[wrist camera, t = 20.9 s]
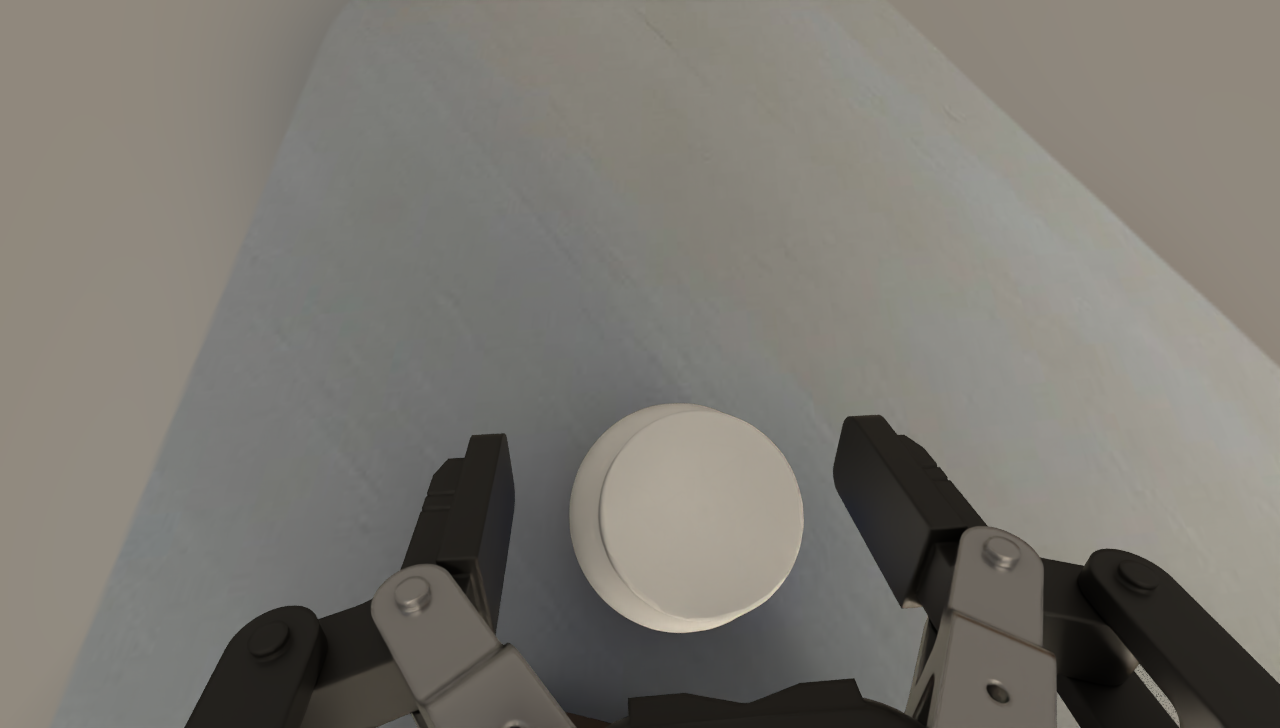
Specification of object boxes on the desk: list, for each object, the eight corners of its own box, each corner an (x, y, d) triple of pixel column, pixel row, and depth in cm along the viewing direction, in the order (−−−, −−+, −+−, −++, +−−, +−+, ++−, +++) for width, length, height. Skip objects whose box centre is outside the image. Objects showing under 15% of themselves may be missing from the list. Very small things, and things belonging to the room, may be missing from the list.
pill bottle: (636, 626, 19) (666, 741, 10) (549, 495, 20) (497, 482, 11) (760, 529, 20) (895, 546, 11) (671, 408, 21) (724, 326, 12)
